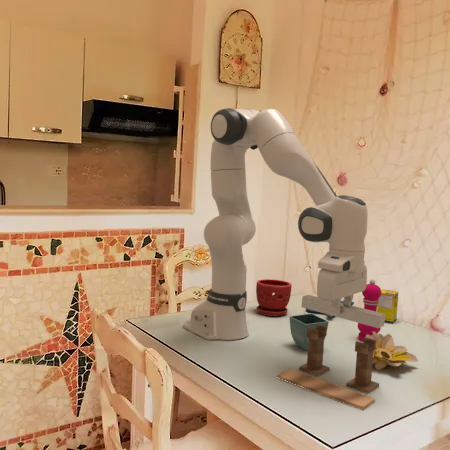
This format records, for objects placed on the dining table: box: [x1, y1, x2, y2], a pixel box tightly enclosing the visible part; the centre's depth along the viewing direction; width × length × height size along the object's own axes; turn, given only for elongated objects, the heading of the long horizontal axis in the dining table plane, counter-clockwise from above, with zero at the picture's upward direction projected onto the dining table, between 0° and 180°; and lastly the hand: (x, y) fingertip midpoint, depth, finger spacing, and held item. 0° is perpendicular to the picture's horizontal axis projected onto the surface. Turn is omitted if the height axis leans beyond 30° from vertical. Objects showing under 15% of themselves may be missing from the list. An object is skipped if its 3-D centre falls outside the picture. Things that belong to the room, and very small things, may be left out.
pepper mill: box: [357, 279, 382, 343], centre depth 160 cm, size 7×7×20 cm
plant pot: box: [255, 278, 293, 317], centre depth 186 cm, size 13×13×12 cm
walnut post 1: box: [298, 324, 331, 377], centre depth 133 cm, size 6×6×12 cm
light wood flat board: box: [276, 368, 376, 411], centre depth 122 cm, size 24×6×1 cm, turn 49°
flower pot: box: [289, 313, 329, 351], centre depth 151 cm, size 9×9×9 cm
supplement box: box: [377, 289, 399, 324], centre depth 183 cm, size 6×6×11 cm
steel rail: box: [301, 294, 386, 329], centre depth 128 cm, size 22×3×3 cm, turn 49°
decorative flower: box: [366, 331, 419, 371], centre depth 138 cm, size 15×11×10 cm
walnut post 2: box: [345, 337, 380, 395], centre depth 124 cm, size 6×6×12 cm
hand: (341, 312), depth 128 cm, fingers closed on steel rail, 3 cm apart
